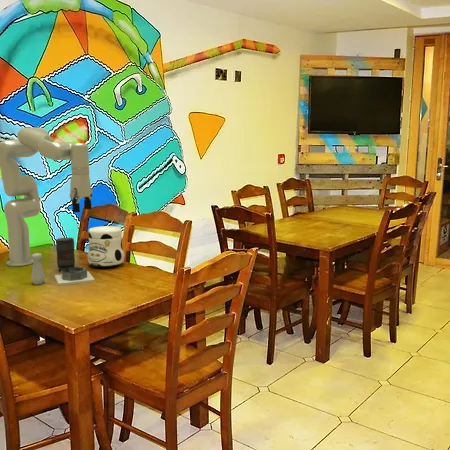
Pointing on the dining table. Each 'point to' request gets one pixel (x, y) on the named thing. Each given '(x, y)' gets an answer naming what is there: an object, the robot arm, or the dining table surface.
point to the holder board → (66, 282)
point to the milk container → (105, 246)
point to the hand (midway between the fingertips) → (82, 210)
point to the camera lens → (65, 253)
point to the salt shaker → (37, 269)
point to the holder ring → (73, 273)
